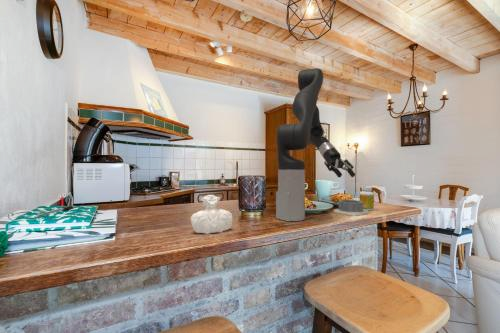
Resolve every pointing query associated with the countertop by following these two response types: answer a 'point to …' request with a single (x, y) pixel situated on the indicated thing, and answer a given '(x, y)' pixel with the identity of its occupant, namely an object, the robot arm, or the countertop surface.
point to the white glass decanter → (211, 217)
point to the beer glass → (367, 198)
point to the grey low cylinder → (351, 207)
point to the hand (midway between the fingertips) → (347, 176)
